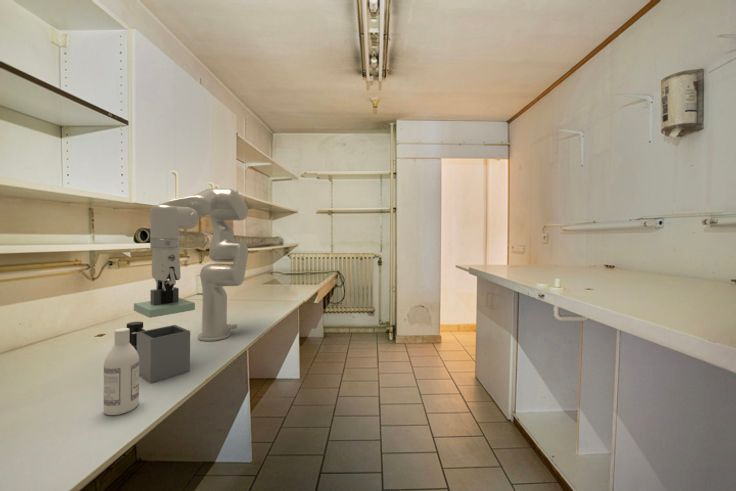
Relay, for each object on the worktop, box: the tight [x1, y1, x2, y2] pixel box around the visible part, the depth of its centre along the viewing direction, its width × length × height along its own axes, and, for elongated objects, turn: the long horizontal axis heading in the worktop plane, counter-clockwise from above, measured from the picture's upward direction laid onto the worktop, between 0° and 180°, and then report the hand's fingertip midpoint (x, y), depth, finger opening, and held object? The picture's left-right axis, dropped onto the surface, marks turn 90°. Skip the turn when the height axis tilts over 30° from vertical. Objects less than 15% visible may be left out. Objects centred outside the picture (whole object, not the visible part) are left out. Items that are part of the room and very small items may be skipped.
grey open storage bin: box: [137, 324, 191, 384], centre depth 99 cm, size 11×11×13 cm
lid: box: [133, 286, 196, 319], centre depth 99 cm, size 13×13×7 cm
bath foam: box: [103, 327, 140, 416], centre depth 78 cm, size 7×7×20 cm
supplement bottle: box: [125, 321, 146, 351], centre depth 111 cm, size 7×7×12 cm
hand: (164, 301), depth 99 cm, fingers closed on lid, 2 cm apart
